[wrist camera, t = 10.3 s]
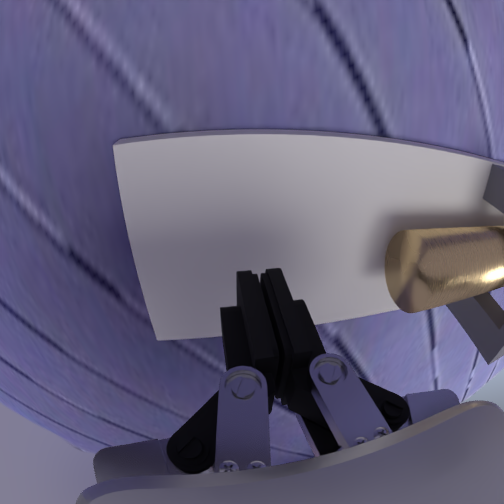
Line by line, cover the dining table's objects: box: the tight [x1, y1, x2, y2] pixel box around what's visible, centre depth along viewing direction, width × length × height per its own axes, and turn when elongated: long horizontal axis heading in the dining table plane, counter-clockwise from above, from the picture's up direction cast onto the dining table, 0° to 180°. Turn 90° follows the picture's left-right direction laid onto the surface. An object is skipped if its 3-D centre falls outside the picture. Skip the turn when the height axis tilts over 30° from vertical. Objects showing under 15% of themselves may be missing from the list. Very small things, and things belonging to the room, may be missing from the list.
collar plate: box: [113, 129, 504, 365], centre depth 13 cm, size 11×40×9 cm, turn 88°
